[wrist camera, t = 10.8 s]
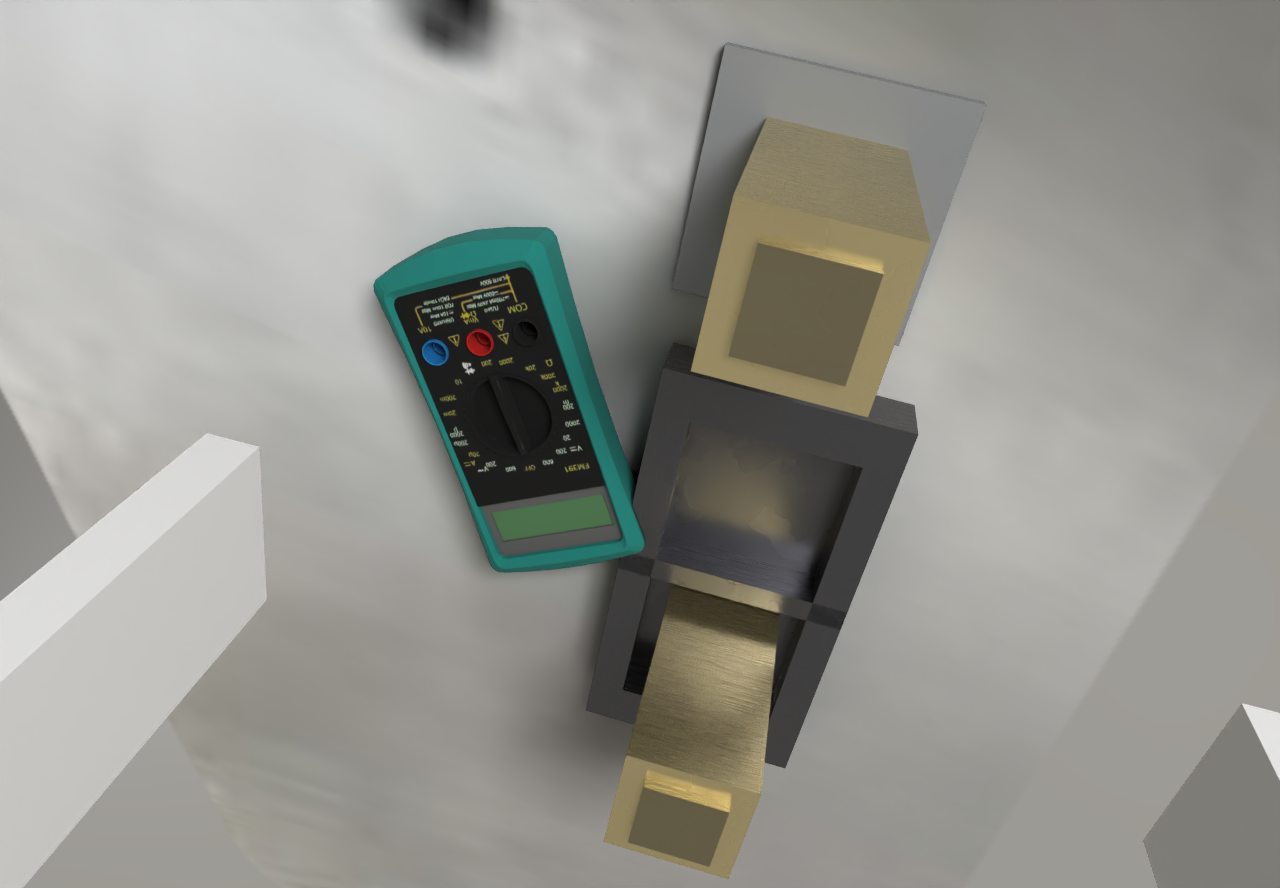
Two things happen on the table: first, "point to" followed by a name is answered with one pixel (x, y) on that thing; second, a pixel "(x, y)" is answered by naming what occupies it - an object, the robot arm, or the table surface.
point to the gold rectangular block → (699, 734)
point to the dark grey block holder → (751, 527)
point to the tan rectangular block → (814, 268)
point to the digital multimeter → (515, 397)
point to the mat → (826, 102)
